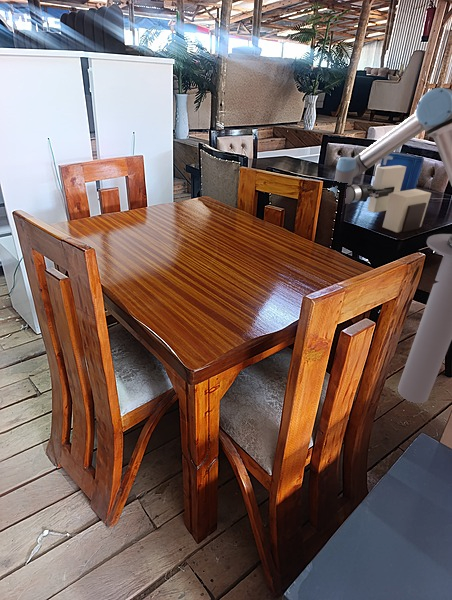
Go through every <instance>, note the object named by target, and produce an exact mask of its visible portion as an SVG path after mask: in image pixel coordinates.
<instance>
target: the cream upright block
mask: <svg viewBox="0 0 452 600" xmlns="http://www.w3.org/2000/svg"><path fill="white" fill-rule="evenodd" d="M431 195H432V192H430V191H425V190H422V189H418V188H415V189H411V190H405V191H399V192H392V193H391V195H390V199H389V203H388V207H387V210H386V212H385V215H384V219H383V223H382V228H384V229H386V230H389V231H392V232H394V233H406V232H409V231H414V230H419V229H420V228H421V227H422V225H423V222H424V220H425V219H424V218H425V216H426V212H427V210H428V209H427V208H428V206H429V201H430V199H431Z"/></svg>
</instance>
